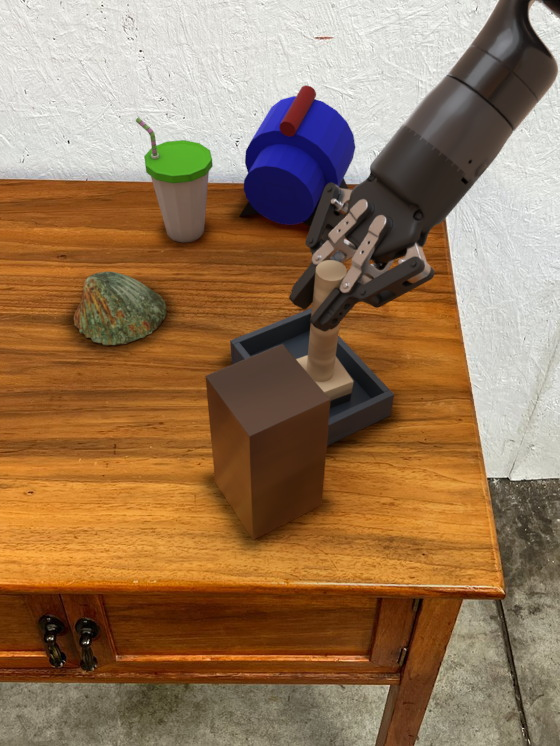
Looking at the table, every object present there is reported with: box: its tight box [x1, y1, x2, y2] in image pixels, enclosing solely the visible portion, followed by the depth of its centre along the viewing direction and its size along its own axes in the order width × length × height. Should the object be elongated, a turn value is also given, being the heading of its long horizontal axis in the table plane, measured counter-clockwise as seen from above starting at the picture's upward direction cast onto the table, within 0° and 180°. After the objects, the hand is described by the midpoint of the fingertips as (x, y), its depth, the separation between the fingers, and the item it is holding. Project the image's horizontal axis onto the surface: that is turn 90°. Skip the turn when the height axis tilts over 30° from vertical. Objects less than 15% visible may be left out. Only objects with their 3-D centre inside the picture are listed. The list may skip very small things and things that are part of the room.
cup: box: [135, 116, 214, 244], centre depth 91 cm, size 8×8×15 cm
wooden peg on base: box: [296, 260, 353, 408], centre depth 71 cm, size 5×5×16 cm
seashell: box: [73, 271, 168, 347], centre depth 84 cm, size 10×4×10 cm
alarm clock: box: [239, 85, 356, 234], centre depth 94 cm, size 12×12×15 cm
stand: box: [205, 344, 330, 541], centre depth 64 cm, size 7×7×14 cm
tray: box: [229, 307, 395, 447], centre depth 77 cm, size 14×10×3 cm
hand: (307, 315), depth 67 cm, fingers closed on wooden peg on base, 2 cm apart
